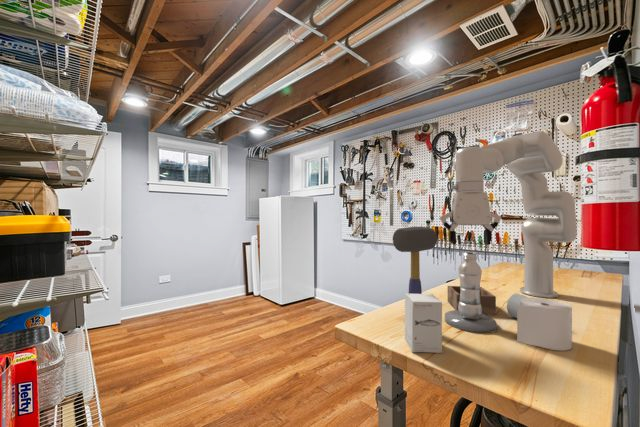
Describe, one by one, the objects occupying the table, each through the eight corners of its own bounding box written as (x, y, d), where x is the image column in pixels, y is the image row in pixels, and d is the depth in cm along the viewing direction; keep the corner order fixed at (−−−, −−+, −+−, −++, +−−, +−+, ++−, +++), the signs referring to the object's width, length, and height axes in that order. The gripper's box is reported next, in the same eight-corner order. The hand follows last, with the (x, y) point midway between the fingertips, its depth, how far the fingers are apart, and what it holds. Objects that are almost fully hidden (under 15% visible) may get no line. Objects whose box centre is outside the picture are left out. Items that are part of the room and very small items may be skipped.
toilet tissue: (574, 341, 73) (574, 303, 73) (568, 358, 65) (568, 315, 65) (525, 329, 81) (525, 295, 81) (514, 342, 73) (514, 304, 73)
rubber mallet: (409, 336, 76) (409, 227, 76) (390, 326, 83) (390, 226, 83) (439, 327, 82) (439, 226, 82) (419, 318, 89) (419, 225, 89)
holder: (447, 301, 106) (447, 285, 106) (481, 303, 104) (481, 287, 104) (457, 312, 95) (457, 294, 94) (495, 314, 92) (495, 296, 92)
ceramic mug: (532, 327, 82) (533, 301, 82) (505, 318, 90) (506, 294, 90) (556, 323, 85) (556, 298, 85) (528, 314, 93) (528, 291, 93)
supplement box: (411, 353, 67) (411, 301, 67) (404, 339, 75) (404, 292, 75) (442, 354, 67) (442, 301, 67) (432, 340, 74) (432, 292, 74)
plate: (440, 313, 94) (439, 309, 94) (485, 316, 91) (485, 311, 91) (451, 330, 80) (451, 325, 80) (505, 334, 77) (505, 329, 77)
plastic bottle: (462, 321, 83) (462, 254, 83) (455, 313, 89) (455, 251, 89) (485, 322, 82) (486, 255, 82) (476, 314, 88) (476, 252, 88)
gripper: (442, 188, 83) (443, 245, 83) (506, 186, 80) (506, 245, 80) (436, 190, 91) (437, 242, 91) (494, 188, 88) (495, 242, 88)
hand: (469, 243), depth 86 cm, fingers open, 9 cm apart
